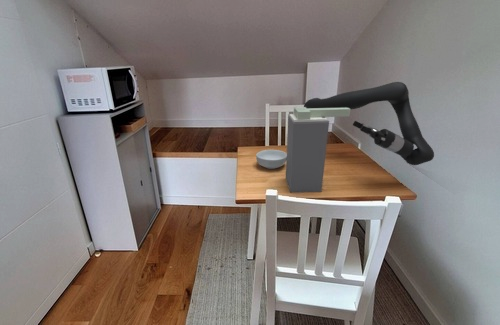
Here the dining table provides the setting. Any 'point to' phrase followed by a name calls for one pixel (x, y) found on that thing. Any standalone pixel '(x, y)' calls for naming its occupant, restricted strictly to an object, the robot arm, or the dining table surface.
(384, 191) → the dining table surface
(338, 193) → the dining table surface
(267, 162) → the cereal bowl
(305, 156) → the tall grey slotted pedestal
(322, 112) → the sage t bar
